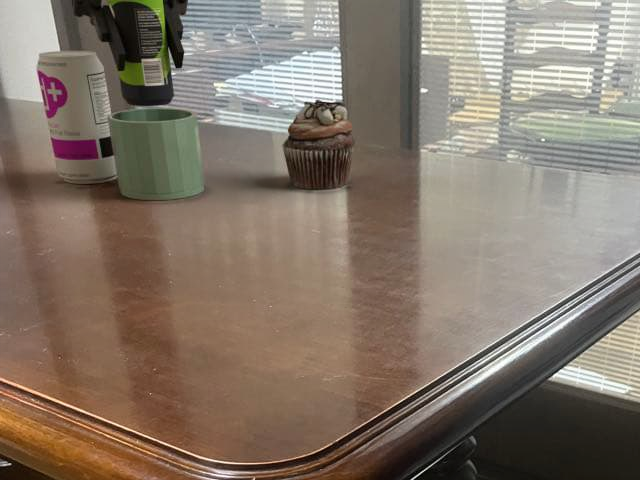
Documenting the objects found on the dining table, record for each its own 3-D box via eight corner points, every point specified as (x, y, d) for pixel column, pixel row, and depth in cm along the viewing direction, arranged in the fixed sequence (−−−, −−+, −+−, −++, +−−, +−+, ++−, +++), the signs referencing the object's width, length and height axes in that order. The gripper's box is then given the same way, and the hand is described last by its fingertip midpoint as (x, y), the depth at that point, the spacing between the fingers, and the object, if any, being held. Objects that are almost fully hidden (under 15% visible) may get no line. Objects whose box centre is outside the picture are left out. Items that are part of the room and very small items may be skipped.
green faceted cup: (102, 195, 112) (89, 118, 107) (152, 178, 120) (141, 105, 115) (174, 203, 109) (164, 124, 104) (220, 185, 117) (212, 111, 112)
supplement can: (76, 188, 115) (50, 58, 107) (49, 177, 120) (23, 53, 112) (132, 178, 120) (112, 54, 111) (104, 168, 125) (83, 48, 116)
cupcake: (301, 172, 124) (296, 93, 118) (365, 177, 121) (364, 97, 116) (272, 187, 116) (266, 104, 111) (340, 193, 114) (337, 108, 108)
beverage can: (181, 100, 111) (164, -42, 102) (165, 107, 106) (146, -41, 97) (133, 98, 111) (113, -43, 103) (115, 106, 106) (92, -42, 98)
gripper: (8, -139, 99) (67, 40, 96) (175, -131, 106) (234, 35, 104) (12, -81, 105) (67, 88, 103) (169, -77, 113) (224, 79, 111)
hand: (151, 61), depth 103 cm, fingers closed on beverage can, 6 cm apart
